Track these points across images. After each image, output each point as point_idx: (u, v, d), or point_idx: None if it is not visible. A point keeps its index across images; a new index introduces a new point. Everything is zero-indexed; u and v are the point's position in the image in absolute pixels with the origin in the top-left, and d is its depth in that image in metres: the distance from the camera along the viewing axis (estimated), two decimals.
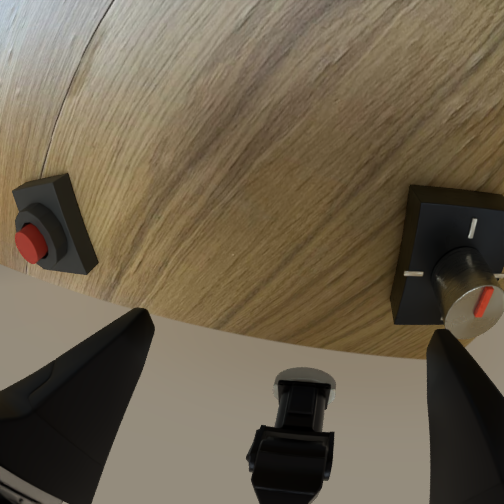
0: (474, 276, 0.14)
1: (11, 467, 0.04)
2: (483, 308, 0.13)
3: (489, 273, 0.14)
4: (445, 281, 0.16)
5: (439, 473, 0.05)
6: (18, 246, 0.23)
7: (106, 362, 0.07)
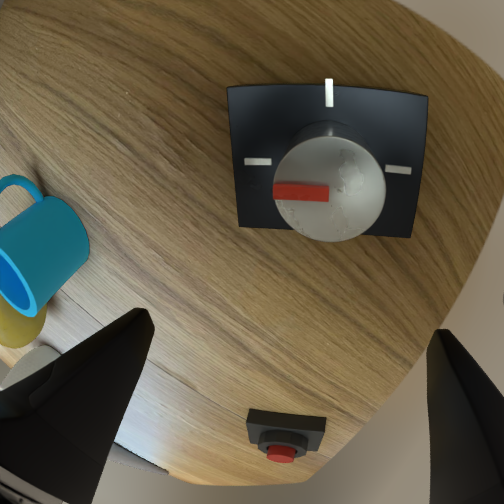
0: None
1: (11, 467, 0.04)
2: (309, 192, 0.11)
3: None
4: None
5: (439, 472, 0.05)
6: (278, 461, 0.33)
7: (106, 362, 0.07)
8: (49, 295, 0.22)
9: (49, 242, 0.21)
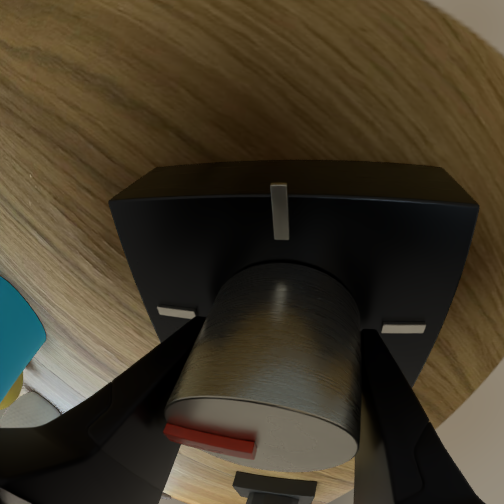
0: None
1: None
2: (220, 450, 0.06)
3: None
4: None
5: (358, 479, 0.05)
6: None
7: (173, 380, 0.07)
8: (9, 386, 0.17)
9: None
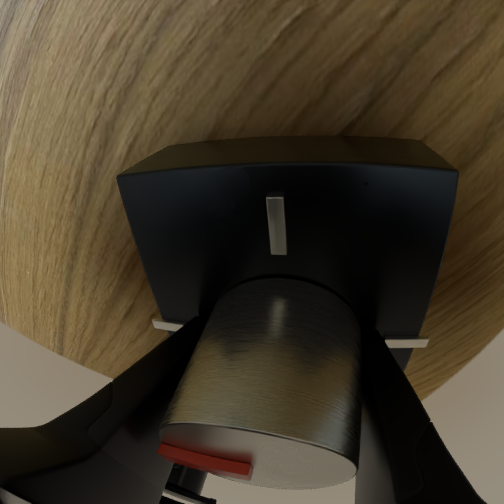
0: None
1: None
2: (216, 471, 0.05)
3: None
4: None
5: (360, 479, 0.05)
6: None
7: (173, 380, 0.07)
8: None
9: None
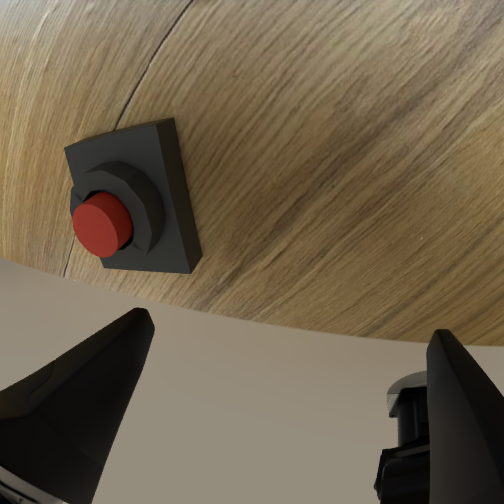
0: None
1: (11, 467, 0.04)
2: None
3: None
4: None
5: (439, 472, 0.05)
6: (77, 229, 0.16)
7: (106, 362, 0.07)
8: None
9: None
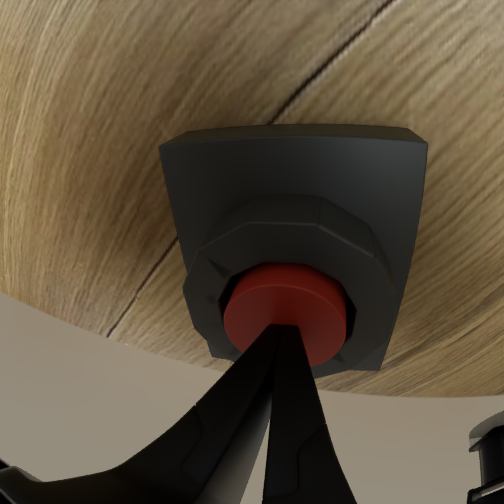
0: None
1: None
2: None
3: None
4: None
5: None
6: (236, 325, 0.09)
7: (261, 396, 0.06)
8: None
9: None
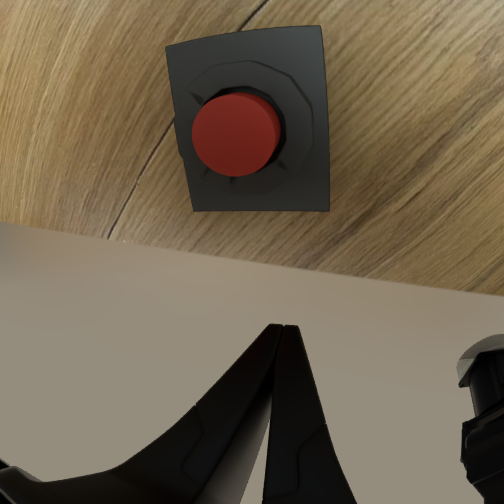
0: None
1: None
2: None
3: None
4: None
5: None
6: (200, 135, 0.12)
7: (261, 396, 0.06)
8: None
9: None
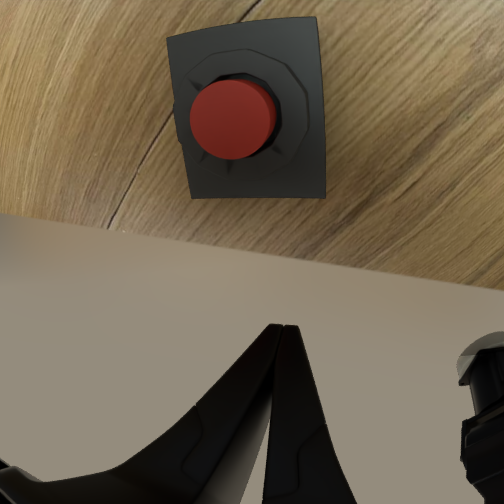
0: None
1: None
2: None
3: None
4: None
5: None
6: (197, 119, 0.12)
7: (261, 396, 0.06)
8: None
9: None
